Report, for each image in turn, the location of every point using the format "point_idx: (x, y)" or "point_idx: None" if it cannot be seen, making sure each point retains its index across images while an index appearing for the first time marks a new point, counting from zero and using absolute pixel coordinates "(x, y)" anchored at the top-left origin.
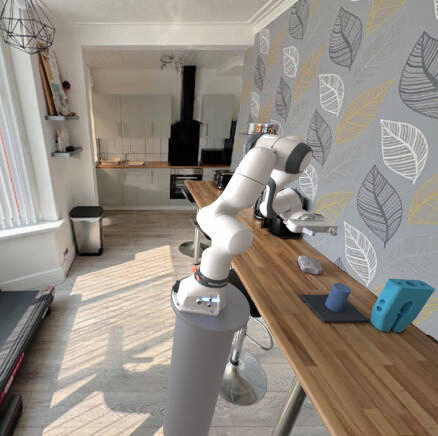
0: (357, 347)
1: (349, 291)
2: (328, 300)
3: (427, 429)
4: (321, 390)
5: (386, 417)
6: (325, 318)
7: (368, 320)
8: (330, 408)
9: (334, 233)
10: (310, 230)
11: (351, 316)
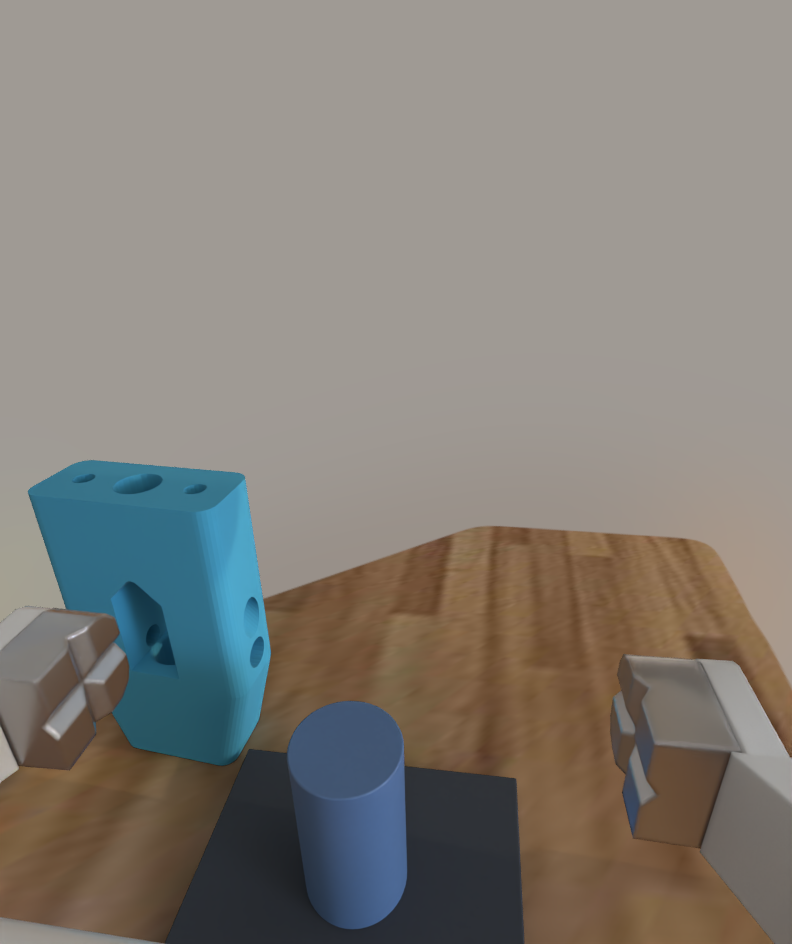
0: (461, 666)
1: (338, 705)
2: (404, 854)
3: (488, 527)
4: (704, 588)
5: (562, 543)
6: (500, 790)
7: (254, 750)
8: (699, 563)
9: (111, 621)
10: (763, 746)
11: None
